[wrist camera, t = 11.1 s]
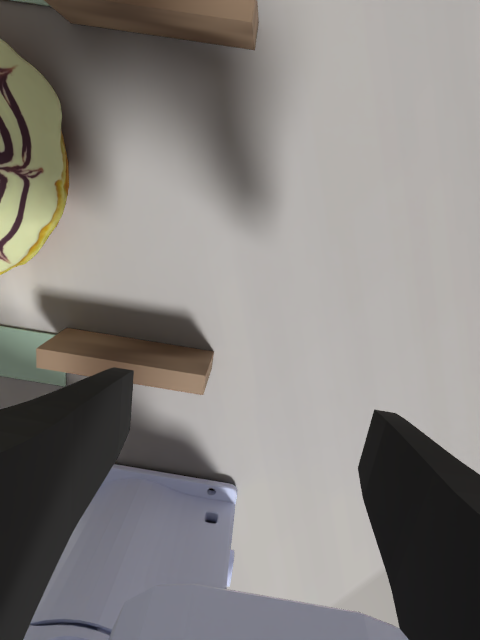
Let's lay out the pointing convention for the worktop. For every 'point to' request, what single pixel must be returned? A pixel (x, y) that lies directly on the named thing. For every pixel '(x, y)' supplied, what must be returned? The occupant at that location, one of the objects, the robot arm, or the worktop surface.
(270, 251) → the worktop surface
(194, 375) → the tunnel walls
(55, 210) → the decorated donut
